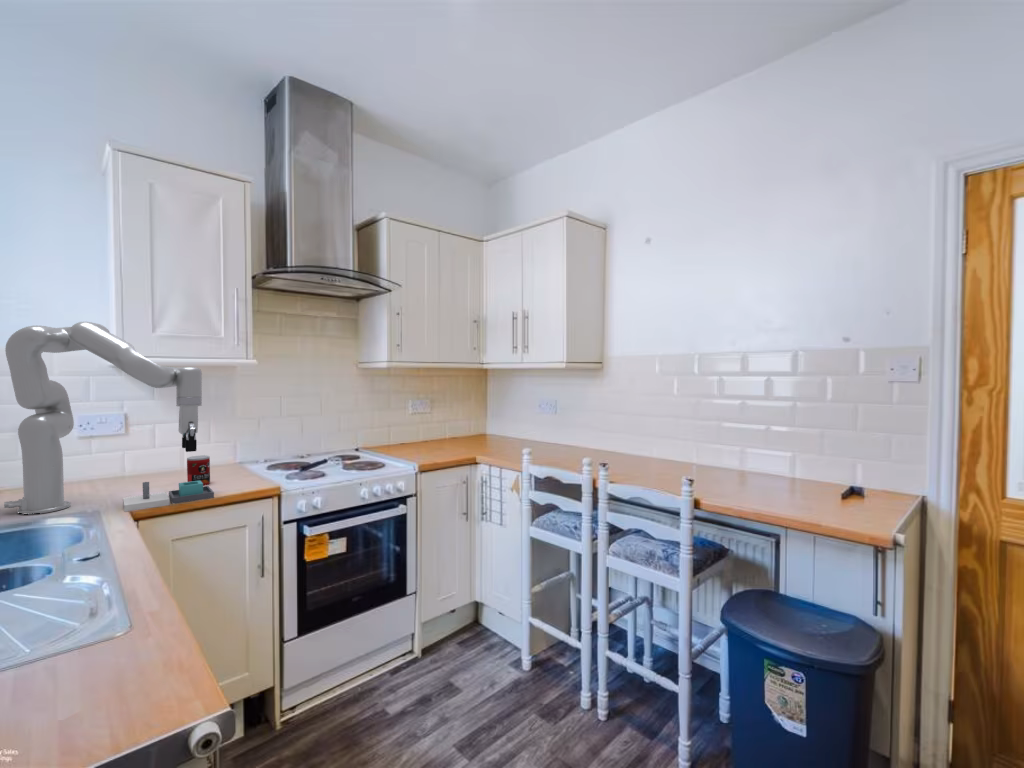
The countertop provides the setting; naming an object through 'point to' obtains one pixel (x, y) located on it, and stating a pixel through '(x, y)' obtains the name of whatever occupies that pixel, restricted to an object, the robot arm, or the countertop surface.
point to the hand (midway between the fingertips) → (189, 449)
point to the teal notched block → (190, 488)
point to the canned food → (198, 469)
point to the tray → (205, 495)
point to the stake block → (145, 500)
